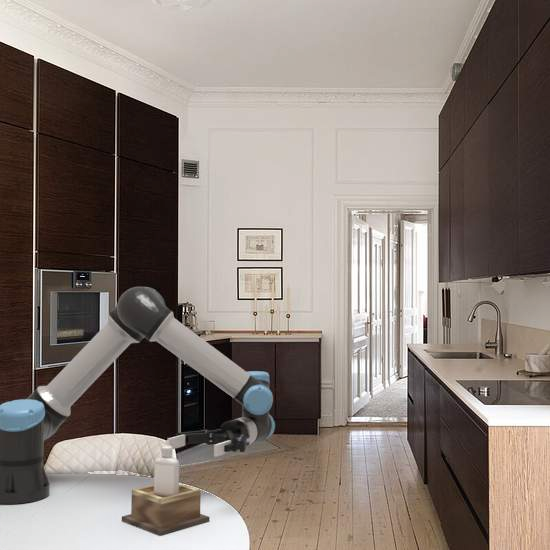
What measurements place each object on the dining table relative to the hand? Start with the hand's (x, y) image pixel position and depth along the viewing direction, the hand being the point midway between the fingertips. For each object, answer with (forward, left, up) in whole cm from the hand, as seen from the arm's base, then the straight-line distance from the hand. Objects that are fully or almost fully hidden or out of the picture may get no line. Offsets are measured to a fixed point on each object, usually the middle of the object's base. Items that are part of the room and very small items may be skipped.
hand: (191, 447), depth 167 cm
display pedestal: (+3, -9, -15) cm, 18 cm away
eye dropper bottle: (+3, -9, -9) cm, 13 cm away
